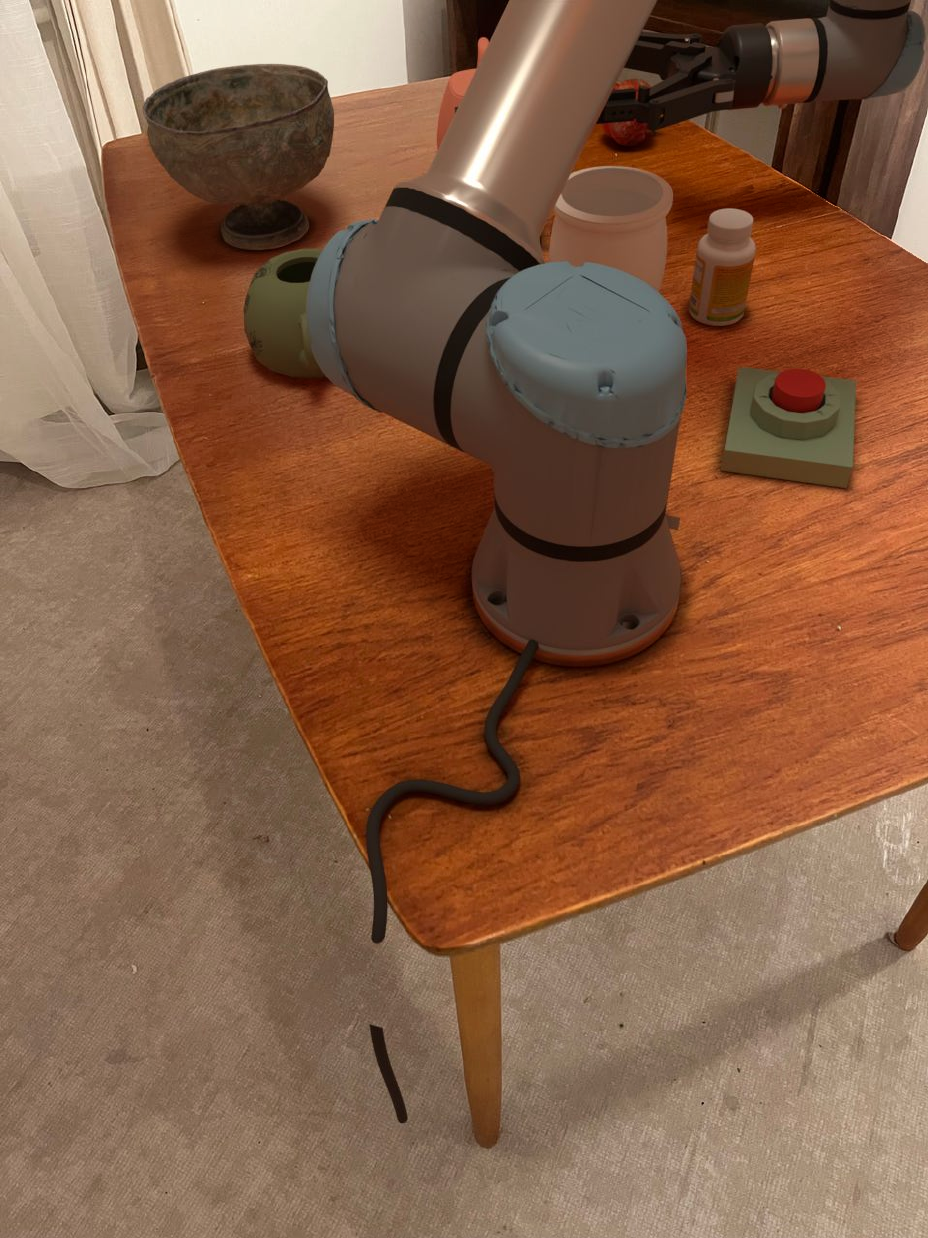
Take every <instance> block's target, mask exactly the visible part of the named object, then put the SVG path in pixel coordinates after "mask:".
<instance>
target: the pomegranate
mask: <svg viewBox="0 0 928 1238" xmlns="http://www.w3.org/2000/svg"><path fill="white" fill-rule="evenodd" d="M639 85H641V88H642V85H643V86H646V87H648V88H649V87H652V86H651V84H650V83H649V82H648V81H645V80H644V79H643V78H640V79H639V78H630V79H624V80H623V81H622V82H621V83H620V84H615V86H614V88H613V90H620V89H632V88H635V90H636V98H638V90H639ZM601 125H602V129H603V131H604V133H605V134H606V135H607V137H609V138H611V139H613V140H614V141H615V142H616V143H617V144H618V145H621V146H623V147H635V146H636V145H638V144H641V143H642V142H643V141H644V140H645V138H646V131H649V130H648V129H647V123H645V124H644V123H643V124H640V123H637V122H636V119H634V121H626V122H615V123H604V124H601ZM651 132H652V133H653V134H655V135H657V133H658V132H657V131H651Z"/></svg>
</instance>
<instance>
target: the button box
mask: <svg viewBox="0 0 928 1238" xmlns="http://www.w3.org/2000/svg"><path fill="white" fill-rule="evenodd" d="M781 372H782V370H781V371H779V370H771V369H763V368H756V367H755V368H754V367H746V366H738V369H737V374H736V379H735V383H734V384H735V385H734V389H733V396H732V401H731V408H730V413H729V419H728V425H727V431H726V436H725V441H724V448H723V454H722V459H721V466H720V471H722V472H728V473H735V474H742V475H744V474H745V475H750V476H758V477H764V478H771V479H772V478H773V479H778V480H785V481H793V482H799V483H807V484H812V485H813V484H814V485H819V486H828V487H833V488H834V487H835V488H840V489H841V488H842V489H847V487H848V485H849V481H850V478H851V476H852V472H853V469H854V454H855V453H854V452H855V451H854V450H855V425H856V396H857V380H856V379H847V378H838V377H831V376H822V375H820V376H821V377H822V378H823V379H824V380H825V383H826V388H825V392H824V395H823V399H822V403H821V405H820V407H819V408H818V409H817V410H816V411H813V412H808V413H803V414H802V413H794V412H787V411H785V410H783V409H781V408H779V407H777V406H775V404H774V403H773V401H772V392H773V388H774V383H775V379H776V377H777V375H778V374H779V373H781Z"/></svg>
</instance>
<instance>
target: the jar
mask: <svg viewBox="0 0 928 1238" xmlns="http://www.w3.org/2000/svg"><path fill="white" fill-rule="evenodd" d="M673 202H674V191H673V189H672V186H671V185H670V184H669V182H668V181H666V180H665V179H664V178H663V177H661V176H660V175H657V174H655V173H654V172H651V171H648V170H645V169H642V168H636V167H633V166H632V167H630V166H622V165H602V166H593V167H587V168H582V169H579V170H576V171H572V172H571V174H570V176H569V178H568V180H567V182H566V184H565V186H564V188H563V190H562V192H561V194H560V196H559V198H558V200H557V202H556V204H555V206H554V208H553V210H552V212H554V214H555V215H554V219H553V223H552V227H551V233H550V239H549V240H550V241H549V251H548V263H549V262H558V261H568V262H569V263H570V264H571V265H572V266H576V267H581V266H582V265H583V264H584V263H585V262H591V263H596V264H601V265H605V266H609V267H613V268H616V269H619V270H621V271H624V272H626V273H629V274H631V275H633V276H635V277H637V278H639V279H640V280H642V281H644V282H646V283H647V284H649V285H650V286H652V287H653V288H654V289H655V290H657V291H658V292H659V293H660V290H661V287H662V283H663V280H664V274H665V269H666V265H667V264H666V263H667V257H668V255H667V254H668V226H667V219H666V217H667V215H668V214H670V213H669V212H670V211H671V208H672V207H673Z"/></svg>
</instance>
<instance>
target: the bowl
mask: <svg viewBox="0 0 928 1238" xmlns="http://www.w3.org/2000/svg"><path fill="white" fill-rule="evenodd" d="M328 85H329V81H328V79H327V78H325V76H324V75H323V74H321V73H320V72H319V71H317V70H314V69H312V68H309V67H307V66H302V65H295V64H285V63H253V64H240V65H231V66H225V67H218V68H212V69H208V70H204V71H201V72H198V73H194V74H190V75H186V76H183V77H181V78H178V79H176V80H174V81H172V82H171V81H170V82H167V83H166V84H164V85H162V86H161V87H159V88H157V89H156V90H154V91H153V92H152V93H151V94H150V96H148V97H146V99H145V101H144V102H143V104H142V114H143V117H144V119H145V120H146V124H147V130H146V135H147V139H148V143H149V145H150V148H151V151H152V153H153V154H154V156H155V158H156V159H157V161H158V162H159V164H160V165H161V166H162V167H163V169H164V170H165V172H167V174H168V175H169V177H170V178H171V179H173V181H175V182H176V183H177V184H178V185H180V187H182V188H183V189H185V191H187V193H189V194H191V195H193V196H194V197H196V198H198V199H201V200H203V201H205V202H208V203H211V204H215V205H217V206H234V208H233V209H232V210H231V211H230V212H228V213H227V215H226V216H225V217H224V218H223V220H222V223H221V226H220V232H221V235H222V238H223V240H224V242H225V243H227V244H228V245H230V246H232V247H233V248H237V249H241V250H246V251H247V250H248V251H263V250H272V249H278V248H282V247H284V246H287V245H289V244H292V243H294V242H297V241H299V240H301V239H302V237H303V236H305V235H306V234H307V232H308V231H309V227H310V225H309V224H310V223H309V219H308V217H307V215H306V213H305V212H304V211H303V210H302V209H301V208H300V207H299V206H298V205H295V204H294V203H292V202H290V201H287V200H284V198H286V197H287V196H289V195H292V194H294V193H296V192H297V191H300V190H301V189H303V188H304V187H306V186H307V185H308V184H309V183H310V182H312V181H313V180H314V179H316V178H317V177H319V176H320V174H321V173H322V171H323V169H324V168H325V165H326V163H327V160H328V158H329V157H330V155H331V150H332V145H333V139H334V129H335V111H334V110H335V109H334V106H333V103H332V99H331V96H330V92H329V87H328Z"/></svg>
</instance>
